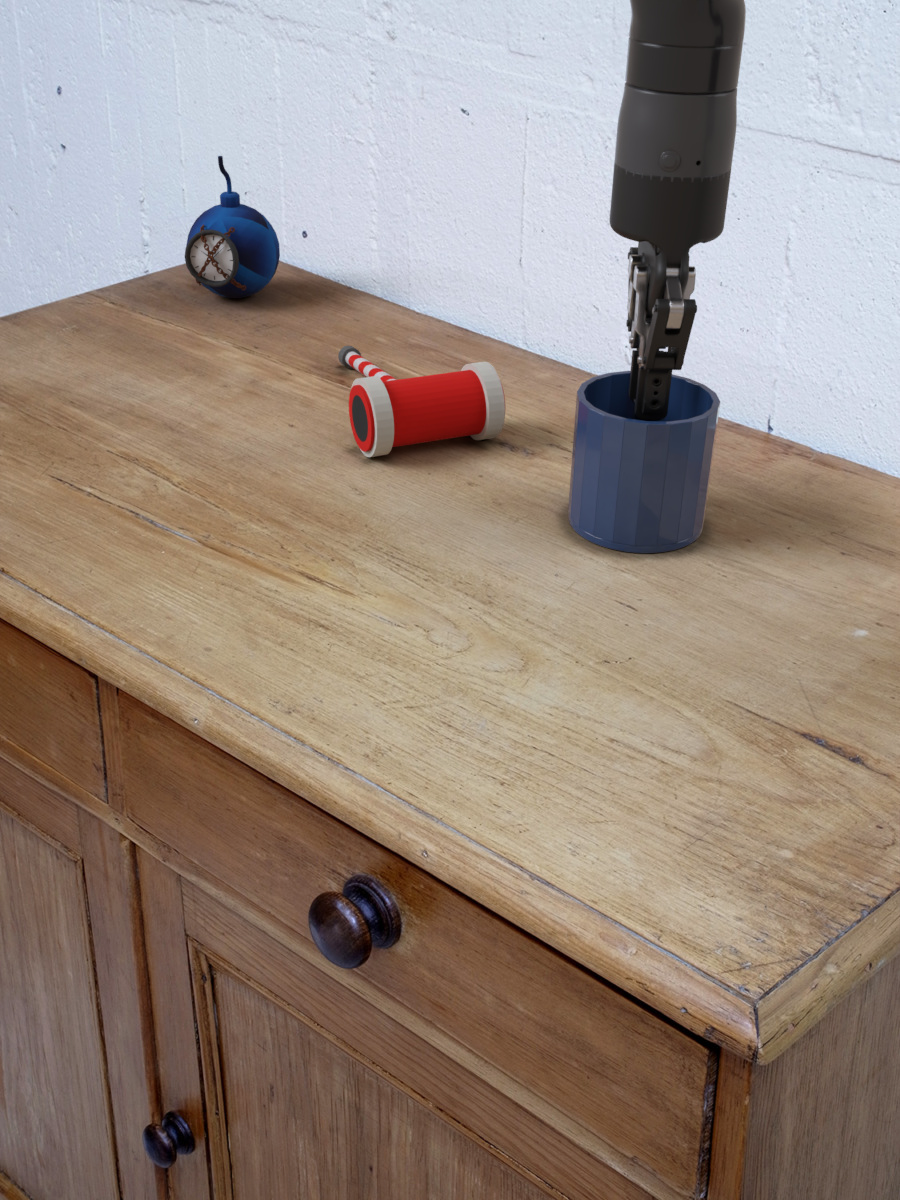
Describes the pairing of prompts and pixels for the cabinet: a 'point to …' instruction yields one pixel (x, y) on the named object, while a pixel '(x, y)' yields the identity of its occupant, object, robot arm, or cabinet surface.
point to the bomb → (232, 247)
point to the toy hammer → (421, 405)
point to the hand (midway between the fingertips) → (646, 407)
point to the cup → (641, 466)
